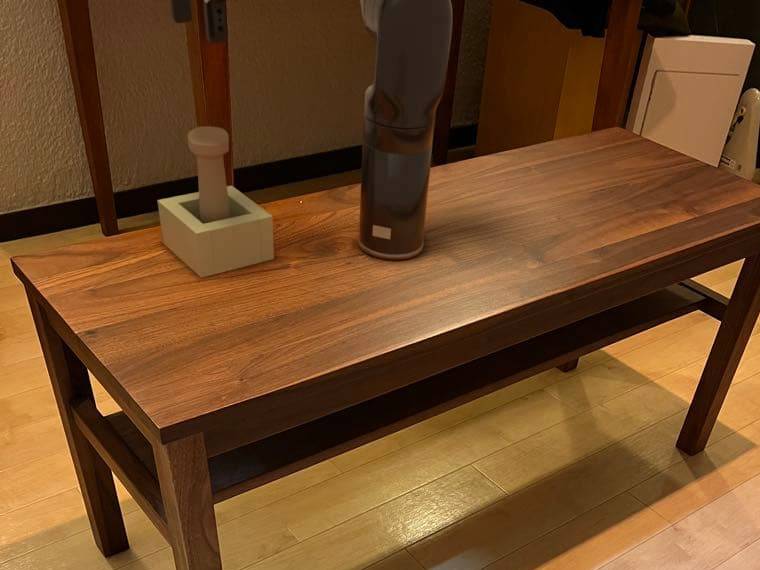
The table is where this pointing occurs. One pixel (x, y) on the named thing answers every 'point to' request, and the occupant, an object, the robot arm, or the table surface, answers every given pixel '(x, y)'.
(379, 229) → the robot arm
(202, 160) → the handle
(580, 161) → the table surface
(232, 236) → the frame
